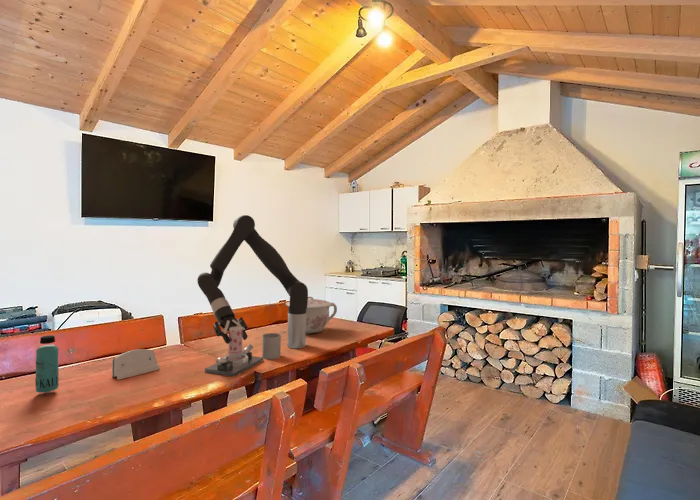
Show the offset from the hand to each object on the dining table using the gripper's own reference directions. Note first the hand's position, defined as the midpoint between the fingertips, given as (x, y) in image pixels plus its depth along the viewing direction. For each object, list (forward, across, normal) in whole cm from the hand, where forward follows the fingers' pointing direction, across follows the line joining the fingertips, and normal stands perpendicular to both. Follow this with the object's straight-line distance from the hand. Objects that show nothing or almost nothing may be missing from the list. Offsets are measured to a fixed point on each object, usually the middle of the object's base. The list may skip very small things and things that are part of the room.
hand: (237, 340), depth 168 cm
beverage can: (+6, 0, +8) cm, 10 cm away
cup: (+8, +19, +9) cm, 22 cm away
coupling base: (+7, 0, +9) cm, 11 cm away
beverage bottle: (-9, -60, +25) cm, 66 cm away
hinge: (-9, -31, +26) cm, 41 cm away
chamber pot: (-8, +66, +25) cm, 71 cm away
